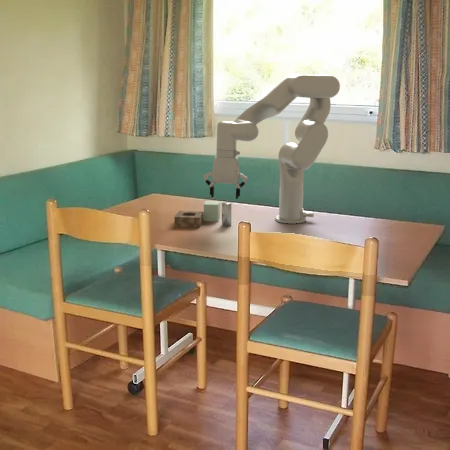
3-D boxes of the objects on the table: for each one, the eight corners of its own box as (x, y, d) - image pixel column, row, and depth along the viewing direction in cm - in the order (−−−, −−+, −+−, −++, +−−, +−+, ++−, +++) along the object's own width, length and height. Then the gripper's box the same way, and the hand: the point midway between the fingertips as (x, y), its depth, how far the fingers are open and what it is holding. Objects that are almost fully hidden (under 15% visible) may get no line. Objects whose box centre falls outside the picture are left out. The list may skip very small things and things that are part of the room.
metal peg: (231, 224, 253) (231, 202, 251) (230, 226, 250) (230, 204, 247) (222, 224, 254) (222, 202, 251) (221, 226, 250) (221, 204, 248)
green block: (220, 217, 264) (220, 201, 262) (218, 221, 258) (218, 204, 256) (205, 217, 264) (205, 201, 262) (203, 221, 258) (203, 204, 257)
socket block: (203, 221, 258) (203, 211, 257) (199, 227, 248) (199, 217, 247) (179, 220, 259) (179, 210, 258) (174, 226, 249) (174, 216, 248)
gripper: (249, 153, 247) (247, 196, 251) (205, 151, 249) (204, 194, 253) (247, 156, 240) (246, 200, 244) (202, 154, 241) (201, 198, 246)
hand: (224, 197), depth 248 cm, fingers open, 9 cm apart
